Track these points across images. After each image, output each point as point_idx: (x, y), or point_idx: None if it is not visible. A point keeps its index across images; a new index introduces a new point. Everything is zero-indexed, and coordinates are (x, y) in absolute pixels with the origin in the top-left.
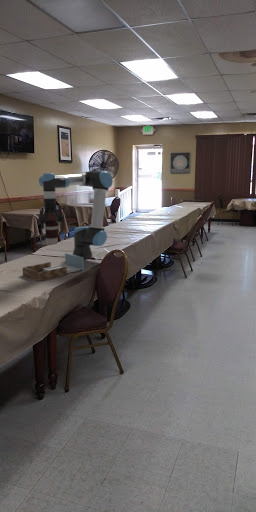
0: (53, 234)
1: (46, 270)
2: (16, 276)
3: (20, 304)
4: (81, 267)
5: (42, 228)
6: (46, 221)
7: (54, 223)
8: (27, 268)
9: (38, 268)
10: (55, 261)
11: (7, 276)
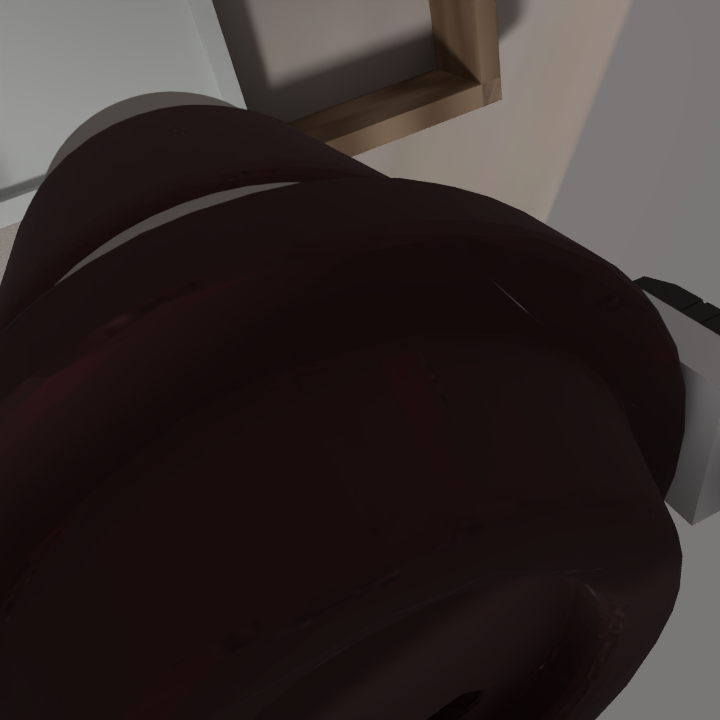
0: (215, 126)
1: (224, 45)
2: (519, 58)
3: None
4: None
5: (657, 281)
6: (679, 584)
7: (257, 420)
8: (482, 12)
9: (306, 132)
10: None
11: (571, 100)
